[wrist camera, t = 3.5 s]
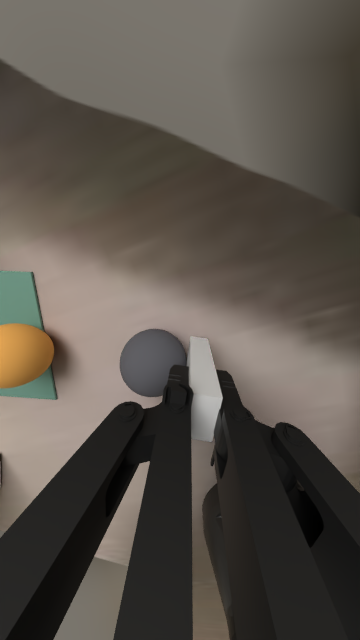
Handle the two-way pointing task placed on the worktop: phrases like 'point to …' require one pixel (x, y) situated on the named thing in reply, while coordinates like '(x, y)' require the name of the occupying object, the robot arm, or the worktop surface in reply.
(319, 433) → the worktop surface
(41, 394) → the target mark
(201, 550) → the worktop surface
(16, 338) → the object ball
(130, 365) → the dark gray ball
